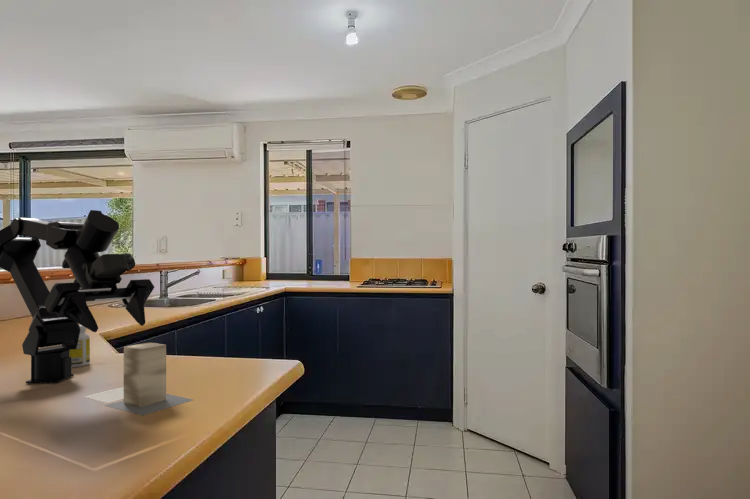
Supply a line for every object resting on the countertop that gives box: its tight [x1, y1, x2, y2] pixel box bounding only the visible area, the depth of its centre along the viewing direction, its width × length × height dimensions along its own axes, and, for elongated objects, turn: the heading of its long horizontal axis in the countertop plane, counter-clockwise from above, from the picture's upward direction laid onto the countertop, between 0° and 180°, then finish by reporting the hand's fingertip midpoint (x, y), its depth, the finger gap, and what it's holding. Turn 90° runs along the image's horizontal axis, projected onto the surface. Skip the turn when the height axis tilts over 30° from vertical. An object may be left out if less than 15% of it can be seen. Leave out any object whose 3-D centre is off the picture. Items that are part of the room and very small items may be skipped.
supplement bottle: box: [69, 324, 91, 368], centre depth 118 cm, size 5×5×10 cm
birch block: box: [123, 342, 167, 407], centre depth 86 cm, size 5×5×10 cm
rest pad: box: [83, 386, 124, 404], centre depth 91 cm, size 8×8×1 cm
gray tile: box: [104, 393, 194, 416], centre depth 85 cm, size 11×10×1 cm
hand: (121, 327), depth 90 cm, fingers open, 9 cm apart
